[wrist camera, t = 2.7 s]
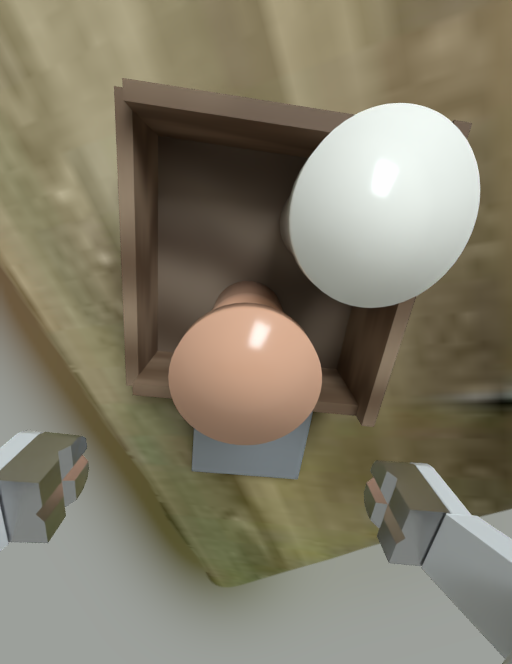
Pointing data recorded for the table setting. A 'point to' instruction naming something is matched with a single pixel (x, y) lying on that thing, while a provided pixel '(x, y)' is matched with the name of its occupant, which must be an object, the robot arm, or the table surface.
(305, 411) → the peach mushroom knob
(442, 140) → the white glossy domed part
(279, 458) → the slate tile
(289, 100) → the table surface
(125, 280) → the wooden tray
